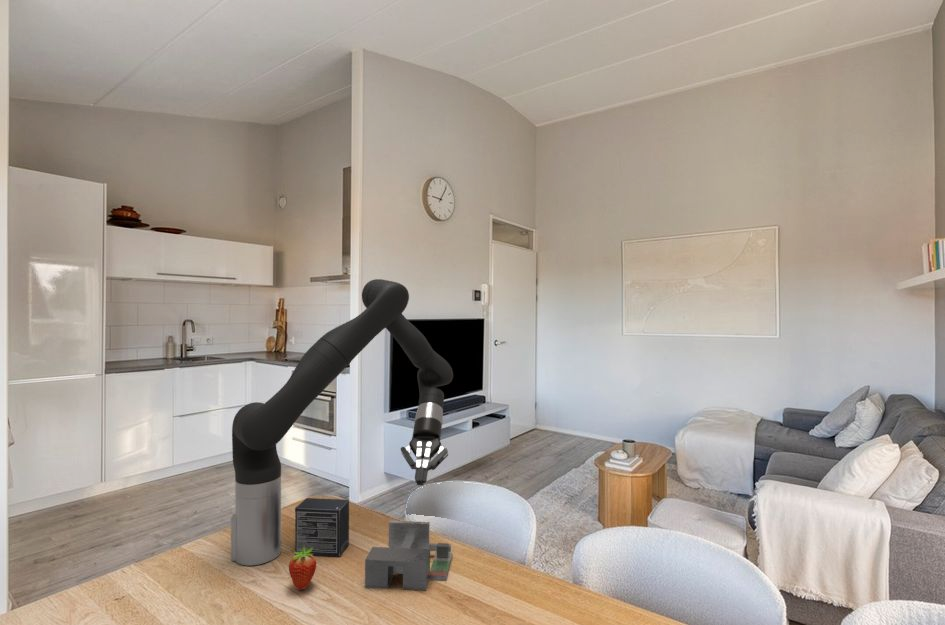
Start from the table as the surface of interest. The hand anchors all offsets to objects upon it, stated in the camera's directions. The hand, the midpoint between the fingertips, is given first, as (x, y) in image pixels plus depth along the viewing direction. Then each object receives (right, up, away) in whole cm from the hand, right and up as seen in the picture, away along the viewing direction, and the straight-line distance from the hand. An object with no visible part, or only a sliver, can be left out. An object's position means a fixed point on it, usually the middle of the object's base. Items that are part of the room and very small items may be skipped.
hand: (420, 483), depth 119 cm
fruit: (-20, -11, -26) cm, 35 cm away
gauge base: (0, -11, -20) cm, 22 cm away
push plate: (+1, -11, -19) cm, 21 cm away
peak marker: (+7, -10, -16) cm, 20 cm away
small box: (-21, -11, -11) cm, 26 cm away
